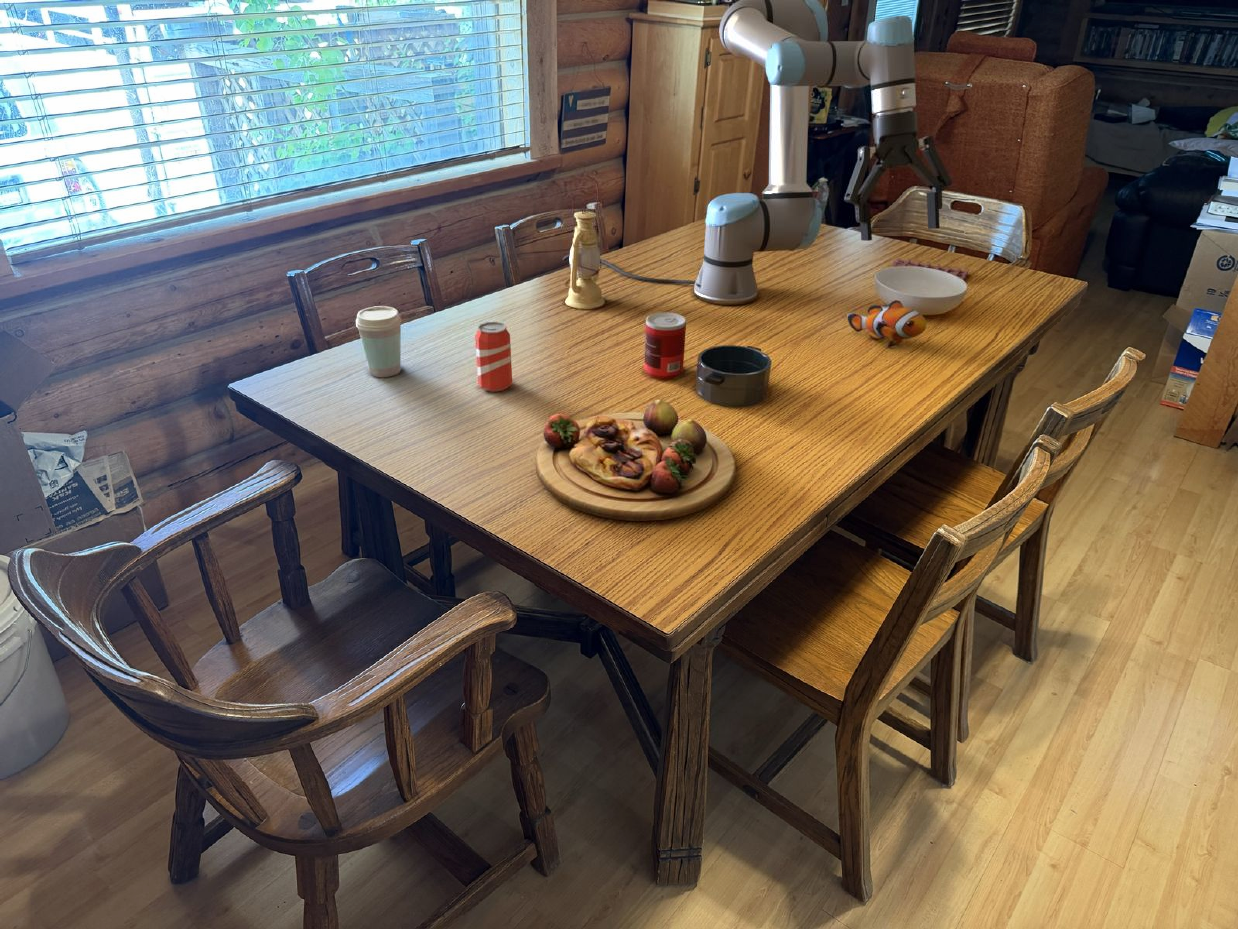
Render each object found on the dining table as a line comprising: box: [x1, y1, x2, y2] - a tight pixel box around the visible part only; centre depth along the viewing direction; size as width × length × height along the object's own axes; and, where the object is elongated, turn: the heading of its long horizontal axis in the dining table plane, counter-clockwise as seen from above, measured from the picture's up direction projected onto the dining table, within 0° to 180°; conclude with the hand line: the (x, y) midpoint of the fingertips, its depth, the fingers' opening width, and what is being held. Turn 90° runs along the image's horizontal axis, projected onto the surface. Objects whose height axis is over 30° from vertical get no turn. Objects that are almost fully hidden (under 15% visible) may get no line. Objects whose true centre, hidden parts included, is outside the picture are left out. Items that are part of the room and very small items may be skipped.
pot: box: [695, 344, 773, 408], centre depth 165 cm, size 14×14×6 cm
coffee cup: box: [355, 305, 403, 378], centre depth 168 cm, size 8×8×12 cm
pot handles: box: [705, 345, 762, 386], centre depth 164 cm, size 3×18×1 cm, turn 147°
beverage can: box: [474, 321, 513, 393], centre depth 163 cm, size 6×6×12 cm
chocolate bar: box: [890, 257, 970, 281], centre depth 229 cm, size 7×19×2 cm, turn 61°
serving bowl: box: [873, 266, 969, 316], centre depth 205 cm, size 21×21×7 cm
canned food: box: [643, 311, 687, 380], centre depth 171 cm, size 8×8×11 cm
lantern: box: [564, 170, 606, 310], centre depth 198 cm, size 12×10×30 cm
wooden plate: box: [535, 399, 737, 522], centre depth 139 cm, size 32×32×8 cm
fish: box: [846, 300, 927, 349], centre depth 186 cm, size 10×18×10 cm, turn 44°
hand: (900, 234), depth 163 cm, fingers open, 13 cm apart
